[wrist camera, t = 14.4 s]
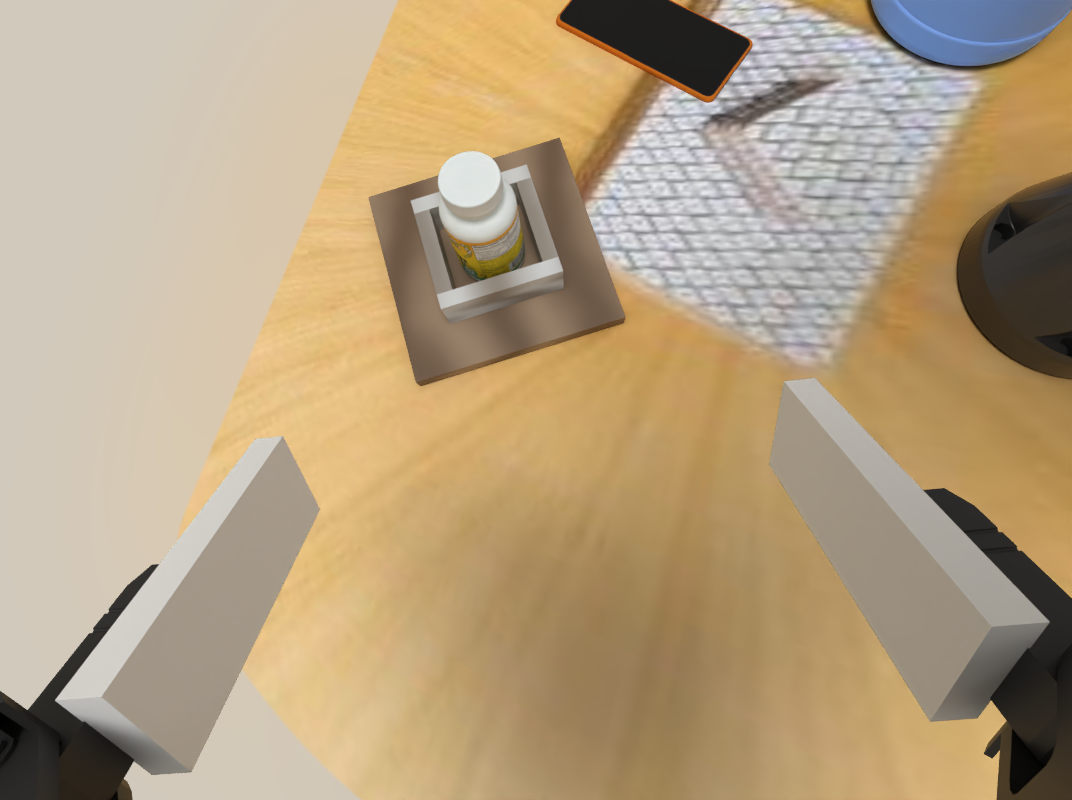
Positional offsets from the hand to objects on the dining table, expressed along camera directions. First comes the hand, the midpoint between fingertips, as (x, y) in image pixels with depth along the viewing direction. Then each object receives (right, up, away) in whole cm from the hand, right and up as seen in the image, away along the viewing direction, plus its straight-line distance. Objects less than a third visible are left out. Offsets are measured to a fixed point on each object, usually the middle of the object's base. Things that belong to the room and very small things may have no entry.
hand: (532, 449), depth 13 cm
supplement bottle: (-3, +13, +27) cm, 30 cm away
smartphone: (+11, +35, +32) cm, 48 cm away
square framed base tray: (-3, +13, +28) cm, 31 cm away
